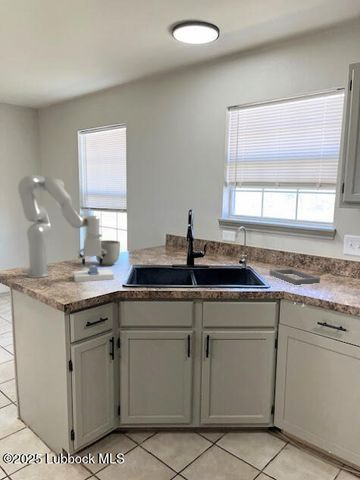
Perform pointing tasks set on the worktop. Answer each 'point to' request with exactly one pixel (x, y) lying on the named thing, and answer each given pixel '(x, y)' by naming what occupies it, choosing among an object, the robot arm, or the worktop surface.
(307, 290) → the worktop surface
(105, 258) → the planter
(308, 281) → the frame
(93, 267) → the servo block
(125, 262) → the worktop surface
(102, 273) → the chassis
